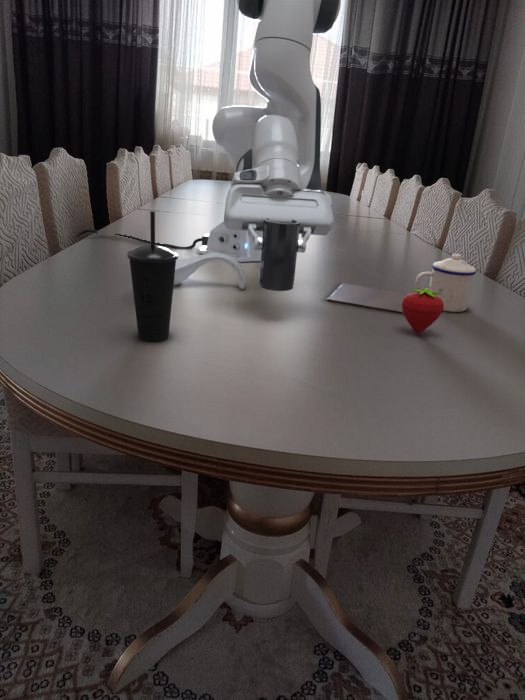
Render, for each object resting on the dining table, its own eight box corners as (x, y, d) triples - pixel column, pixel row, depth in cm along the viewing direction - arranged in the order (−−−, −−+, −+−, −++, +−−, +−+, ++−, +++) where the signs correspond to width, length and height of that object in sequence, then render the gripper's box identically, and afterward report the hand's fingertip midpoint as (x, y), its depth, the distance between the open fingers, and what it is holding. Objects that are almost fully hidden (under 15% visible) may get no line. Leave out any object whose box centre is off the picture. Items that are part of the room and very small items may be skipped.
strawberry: (394, 325, 100) (404, 274, 96) (434, 329, 99) (445, 279, 95) (398, 335, 94) (408, 282, 91) (440, 340, 94) (452, 286, 90)
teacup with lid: (461, 302, 119) (473, 252, 115) (472, 314, 110) (484, 260, 106) (408, 297, 120) (418, 247, 116) (415, 309, 111) (425, 255, 107)
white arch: (134, 287, 111) (133, 253, 108) (145, 274, 122) (144, 243, 119) (244, 294, 112) (246, 261, 109) (245, 280, 123) (247, 250, 120)
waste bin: (253, 287, 94) (258, 220, 90) (265, 279, 100) (271, 216, 95) (286, 293, 93) (293, 225, 88) (297, 285, 98) (304, 220, 94)
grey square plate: (326, 300, 112) (327, 298, 112) (342, 284, 126) (342, 283, 126) (401, 313, 108) (402, 311, 107) (409, 295, 122) (409, 293, 122)
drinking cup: (132, 327, 88) (130, 206, 81) (178, 329, 89) (180, 210, 81) (125, 344, 81) (122, 213, 73) (175, 346, 82) (176, 216, 74)
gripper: (326, 201, 102) (331, 261, 97) (223, 194, 100) (222, 256, 95) (334, 180, 97) (340, 242, 91) (225, 172, 94) (224, 236, 89)
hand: (279, 249), depth 93 cm, fingers closed on waste bin, 6 cm apart
